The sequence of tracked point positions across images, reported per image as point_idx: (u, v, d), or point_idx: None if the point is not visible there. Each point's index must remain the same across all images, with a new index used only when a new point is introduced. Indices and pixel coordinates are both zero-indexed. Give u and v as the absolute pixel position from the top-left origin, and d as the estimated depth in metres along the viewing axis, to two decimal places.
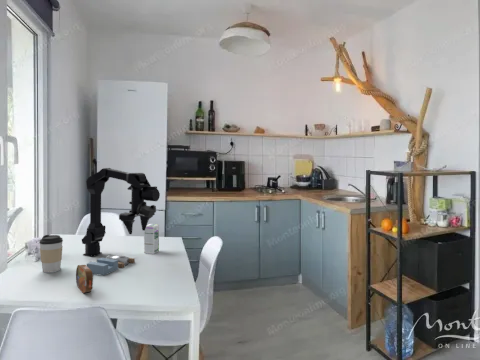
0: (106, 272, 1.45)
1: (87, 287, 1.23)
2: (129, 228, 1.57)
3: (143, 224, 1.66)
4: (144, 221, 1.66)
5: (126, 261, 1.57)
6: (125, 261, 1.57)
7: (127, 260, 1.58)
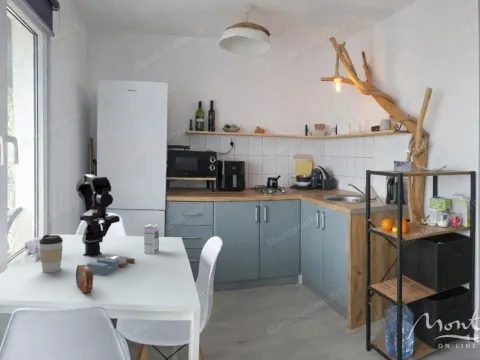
0: (106, 272, 1.45)
1: (87, 287, 1.23)
2: None
3: None
4: None
5: (124, 261, 1.56)
6: (124, 262, 1.56)
7: (125, 260, 1.57)
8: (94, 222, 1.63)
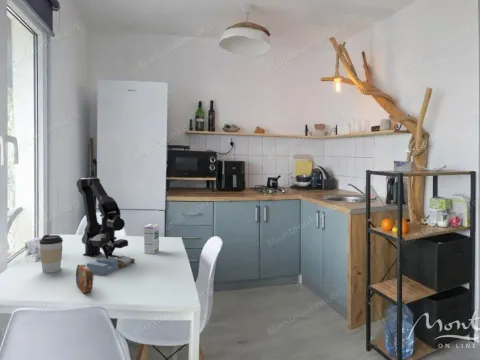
0: (106, 272, 1.45)
1: (87, 287, 1.23)
2: None
3: None
4: None
5: (127, 261, 1.57)
6: (127, 261, 1.56)
7: (129, 260, 1.57)
8: (107, 246, 1.61)
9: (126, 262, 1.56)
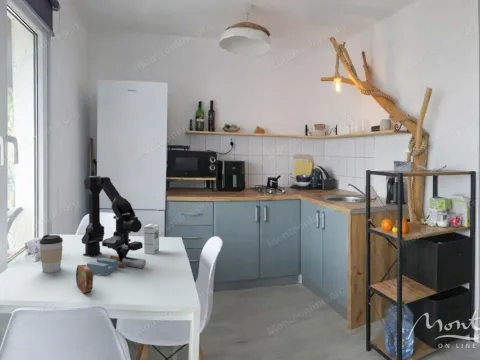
0: (106, 272, 1.45)
1: (87, 287, 1.23)
2: None
3: None
4: None
5: (142, 263, 1.54)
6: (142, 264, 1.53)
7: (143, 262, 1.55)
8: (121, 248, 1.58)
9: (141, 264, 1.53)
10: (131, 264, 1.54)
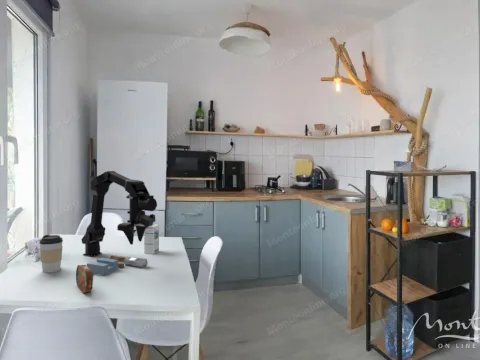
0: (106, 272, 1.45)
1: (87, 287, 1.23)
2: (130, 238, 1.51)
3: (140, 234, 1.58)
4: (141, 232, 1.58)
5: (144, 262, 1.55)
6: (144, 262, 1.55)
7: (145, 262, 1.56)
8: None
9: (143, 262, 1.54)
10: (133, 261, 1.55)
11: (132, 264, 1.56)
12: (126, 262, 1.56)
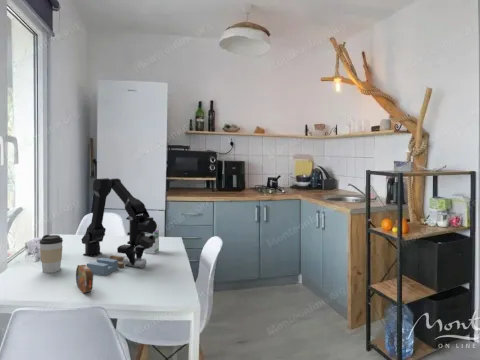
0: (106, 272, 1.45)
1: (87, 287, 1.23)
2: (131, 259, 1.53)
3: (138, 255, 1.58)
4: (139, 253, 1.58)
5: (143, 263, 1.54)
6: (142, 263, 1.54)
7: (144, 262, 1.55)
8: None
9: (141, 264, 1.53)
10: None
11: (131, 265, 1.55)
12: (125, 264, 1.56)
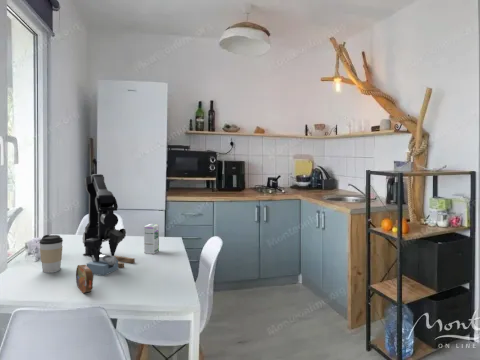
0: (106, 272, 1.45)
1: (87, 287, 1.23)
2: (96, 255, 1.43)
3: (112, 249, 1.53)
4: (113, 246, 1.53)
5: (113, 260, 1.47)
6: (112, 260, 1.46)
7: (114, 259, 1.48)
8: None
9: (111, 261, 1.46)
10: (101, 260, 1.47)
11: None
12: (94, 261, 1.49)
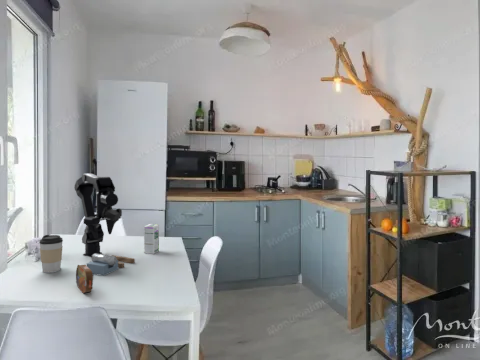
0: (106, 272, 1.45)
1: (87, 287, 1.23)
2: (94, 232, 1.57)
3: (109, 227, 1.66)
4: (110, 225, 1.66)
5: (113, 260, 1.47)
6: (112, 260, 1.46)
7: (114, 259, 1.48)
8: None
9: (111, 261, 1.46)
10: (101, 260, 1.47)
11: None
12: (94, 261, 1.49)
